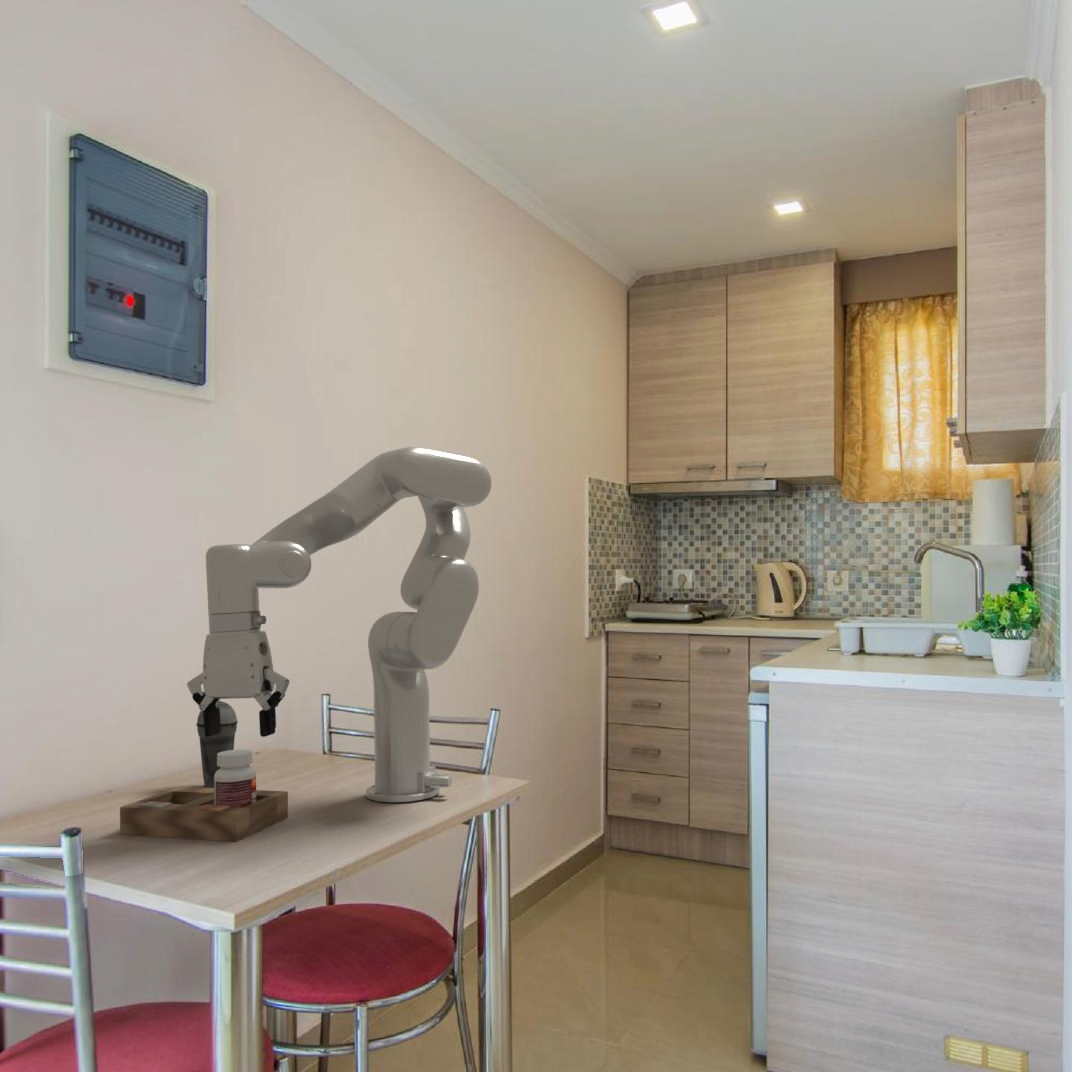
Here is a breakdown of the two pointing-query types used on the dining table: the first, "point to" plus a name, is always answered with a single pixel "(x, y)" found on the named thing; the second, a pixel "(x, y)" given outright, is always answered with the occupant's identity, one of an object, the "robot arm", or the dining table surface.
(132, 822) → the socket board
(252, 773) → the pill bottle
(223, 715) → the beverage cup
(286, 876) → the dining table surface
